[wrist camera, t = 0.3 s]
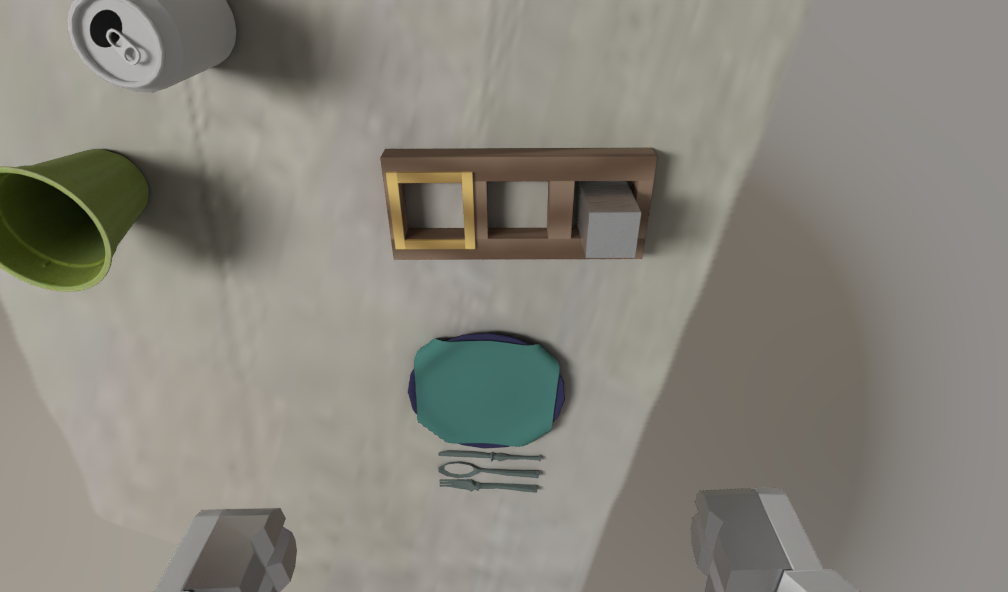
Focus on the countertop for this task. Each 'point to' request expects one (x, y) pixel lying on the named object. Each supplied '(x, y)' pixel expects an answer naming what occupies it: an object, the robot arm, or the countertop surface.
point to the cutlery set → (486, 398)
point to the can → (151, 39)
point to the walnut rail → (508, 166)
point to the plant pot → (68, 217)
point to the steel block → (607, 219)
